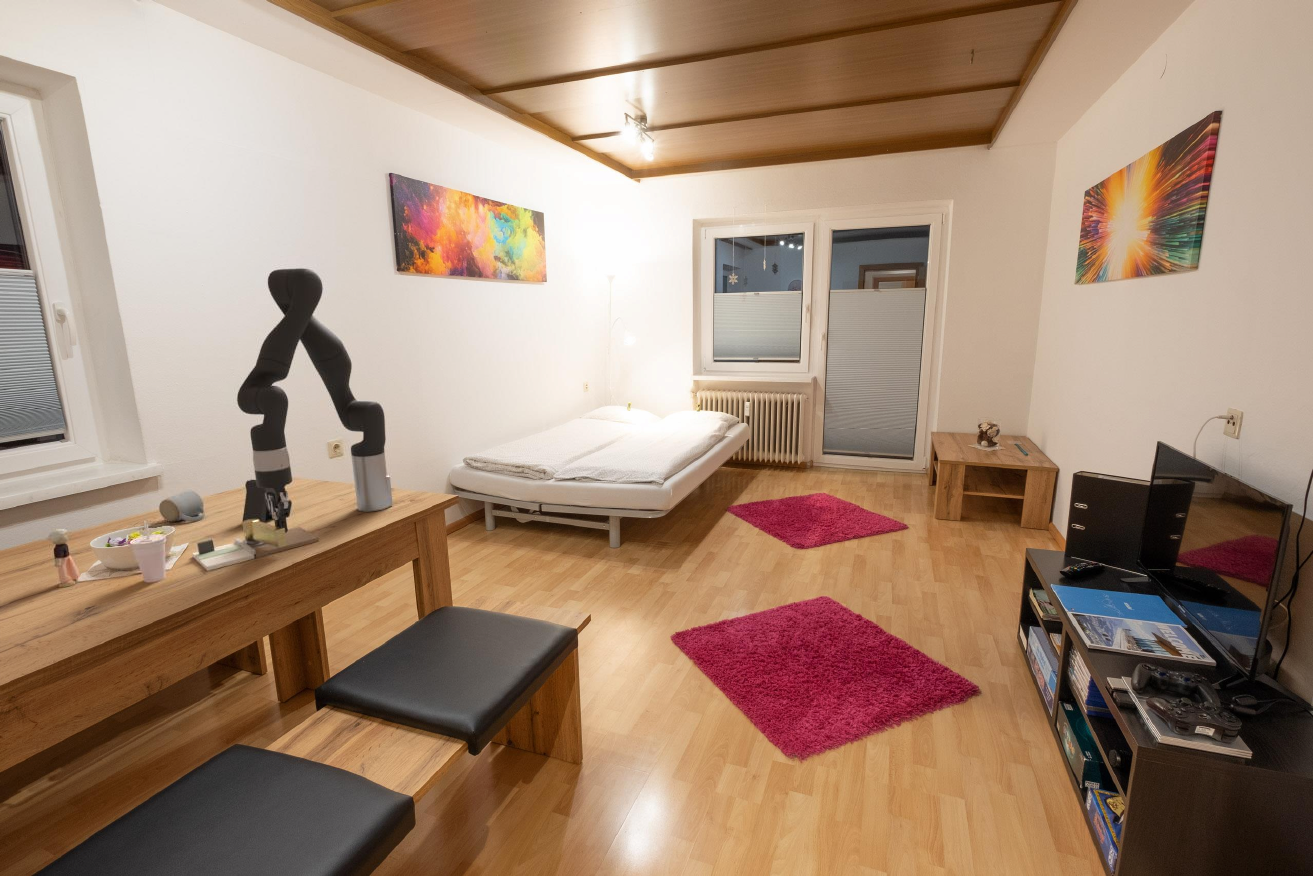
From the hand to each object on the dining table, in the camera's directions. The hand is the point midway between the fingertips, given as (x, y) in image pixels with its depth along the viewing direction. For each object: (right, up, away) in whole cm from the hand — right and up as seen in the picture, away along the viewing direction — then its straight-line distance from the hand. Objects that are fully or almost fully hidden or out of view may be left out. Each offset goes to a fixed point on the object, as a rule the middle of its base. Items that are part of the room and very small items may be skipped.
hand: (282, 532), depth 152 cm
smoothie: (-20, -9, -15) cm, 26 cm away
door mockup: (-8, -5, +3) cm, 10 cm away
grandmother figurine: (-38, -9, -16) cm, 42 cm away
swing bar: (-4, -2, 0) cm, 5 cm away
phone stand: (-21, 0, +25) cm, 33 cm away
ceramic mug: (-45, 0, +27) cm, 52 cm away
